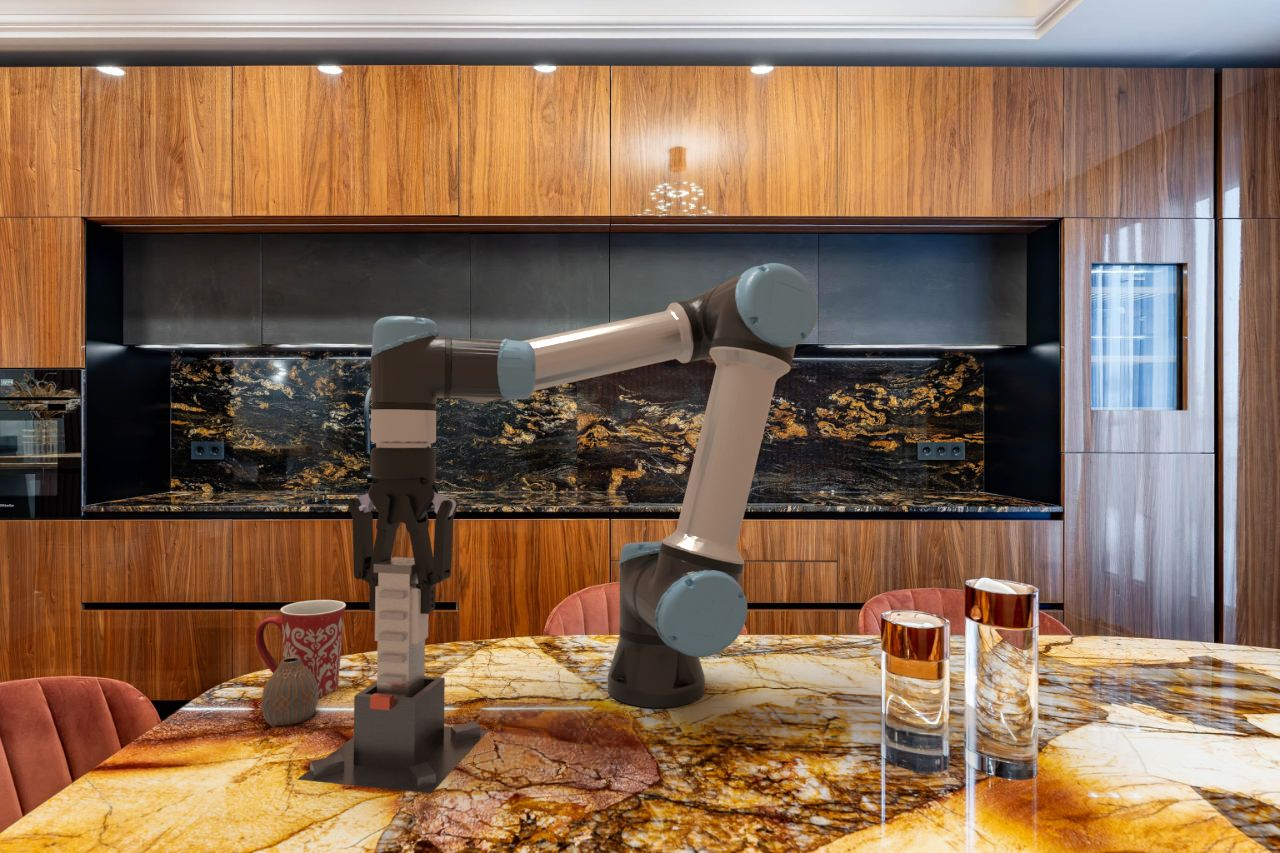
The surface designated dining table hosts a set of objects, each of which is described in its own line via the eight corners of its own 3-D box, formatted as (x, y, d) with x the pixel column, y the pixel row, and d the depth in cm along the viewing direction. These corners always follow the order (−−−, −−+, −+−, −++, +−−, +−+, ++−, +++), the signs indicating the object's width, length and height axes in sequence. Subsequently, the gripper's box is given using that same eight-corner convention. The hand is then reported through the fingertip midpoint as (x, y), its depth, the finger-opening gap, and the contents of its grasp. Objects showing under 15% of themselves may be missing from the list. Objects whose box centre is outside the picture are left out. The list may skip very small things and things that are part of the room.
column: (428, 736, 85) (430, 558, 86) (408, 755, 81) (410, 566, 81) (392, 733, 86) (394, 557, 86) (370, 751, 81) (372, 564, 82)
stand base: (488, 737, 90) (489, 664, 90) (431, 802, 74) (432, 713, 74) (375, 727, 93) (376, 657, 93) (297, 788, 77) (298, 702, 77)
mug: (354, 685, 108) (355, 599, 108) (329, 708, 99) (330, 614, 99) (273, 685, 108) (274, 598, 108) (240, 708, 99) (241, 613, 99)
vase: (248, 730, 92) (249, 664, 92) (291, 710, 98) (292, 649, 98) (288, 738, 89) (289, 670, 89) (329, 718, 96) (330, 654, 96)
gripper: (482, 446, 86) (480, 634, 86) (357, 444, 89) (355, 626, 89) (456, 447, 79) (454, 652, 78) (320, 445, 82) (318, 644, 81)
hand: (401, 638), depth 84 cm, fingers closed on column, 4 cm apart
